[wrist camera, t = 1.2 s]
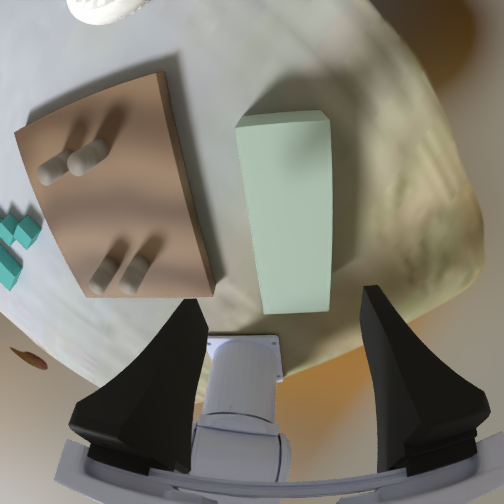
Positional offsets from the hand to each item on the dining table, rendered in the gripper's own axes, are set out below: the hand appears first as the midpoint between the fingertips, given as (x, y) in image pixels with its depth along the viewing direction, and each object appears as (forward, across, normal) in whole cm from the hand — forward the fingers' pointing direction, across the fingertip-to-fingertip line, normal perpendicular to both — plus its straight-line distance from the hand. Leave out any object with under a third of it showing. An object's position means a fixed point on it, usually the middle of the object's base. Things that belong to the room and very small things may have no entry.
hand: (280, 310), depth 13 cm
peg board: (+10, +13, -2) cm, 17 cm away
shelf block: (+11, -1, +1) cm, 11 cm away
